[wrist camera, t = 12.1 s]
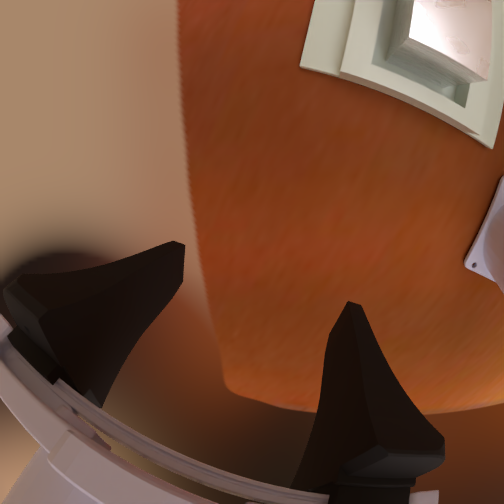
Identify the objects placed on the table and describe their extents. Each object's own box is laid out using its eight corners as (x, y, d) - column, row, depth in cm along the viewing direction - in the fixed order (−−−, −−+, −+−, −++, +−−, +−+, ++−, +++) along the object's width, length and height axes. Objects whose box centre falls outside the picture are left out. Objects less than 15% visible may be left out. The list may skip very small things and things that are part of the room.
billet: (453, 17, 8) (490, -10, 3) (442, 88, 11) (487, 80, 6) (397, -8, 8) (417, -50, 3) (385, 61, 12) (409, 37, 7)
